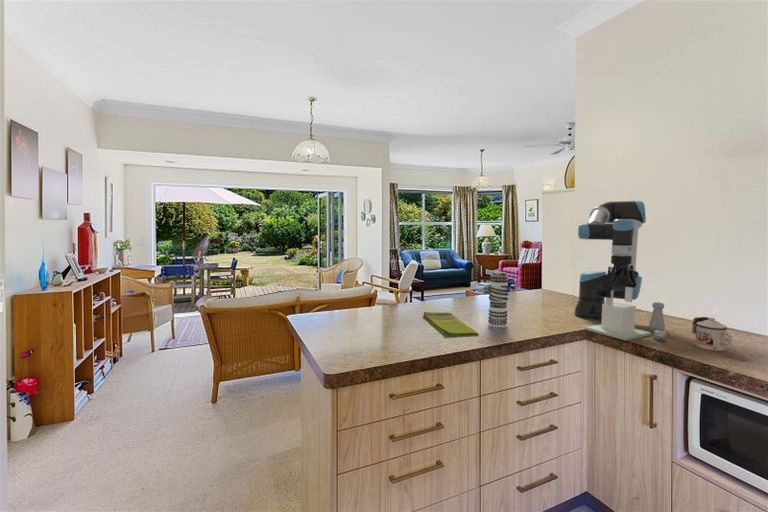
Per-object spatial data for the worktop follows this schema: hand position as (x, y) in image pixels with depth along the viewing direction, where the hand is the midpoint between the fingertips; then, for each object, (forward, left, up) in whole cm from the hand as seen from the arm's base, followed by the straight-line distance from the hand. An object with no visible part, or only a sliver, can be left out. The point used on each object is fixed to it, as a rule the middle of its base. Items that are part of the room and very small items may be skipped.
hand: (618, 303), depth 167 cm
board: (0, 0, -13) cm, 13 cm away
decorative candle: (-32, -39, -13) cm, 52 cm away
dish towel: (-42, -60, -14) cm, 75 cm away
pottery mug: (+17, +33, -13) cm, 40 cm away
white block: (0, 0, -12) cm, 12 cm away
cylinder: (+15, +4, -13) cm, 20 cm away
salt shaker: (+7, +17, -13) cm, 22 cm away
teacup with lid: (+30, +10, -13) cm, 35 cm away
